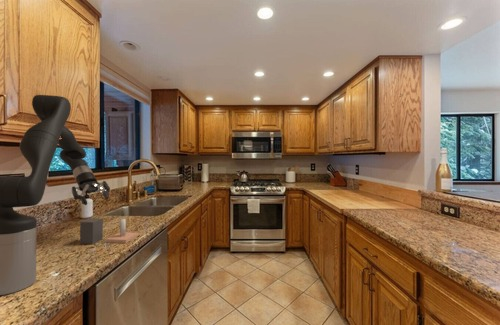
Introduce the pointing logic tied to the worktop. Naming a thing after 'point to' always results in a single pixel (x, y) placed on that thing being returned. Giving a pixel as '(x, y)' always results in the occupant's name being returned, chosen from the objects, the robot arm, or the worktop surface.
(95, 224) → the dark grey upright block
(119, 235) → the shaft plate
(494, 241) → the worktop surface
